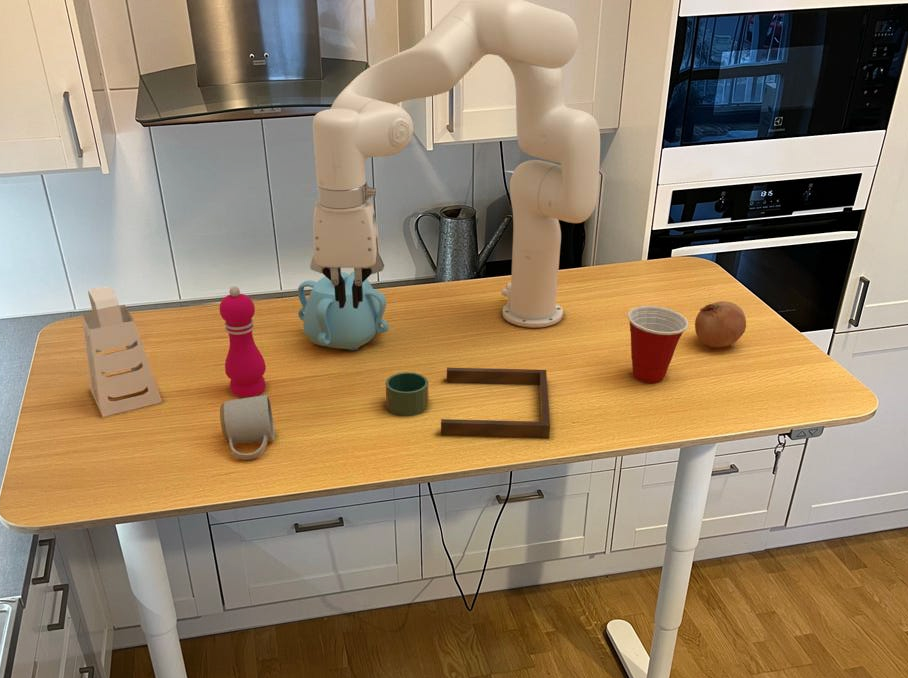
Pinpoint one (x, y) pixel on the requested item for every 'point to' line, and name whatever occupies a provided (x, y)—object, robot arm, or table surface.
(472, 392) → the table surface
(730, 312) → the onion
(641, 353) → the plastic cup
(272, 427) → the ceramic mug
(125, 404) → the grater
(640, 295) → the table surface
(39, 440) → the table surface
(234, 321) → the pepper mill
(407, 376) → the green cup
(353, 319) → the decorative pot
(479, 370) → the walnut bay
